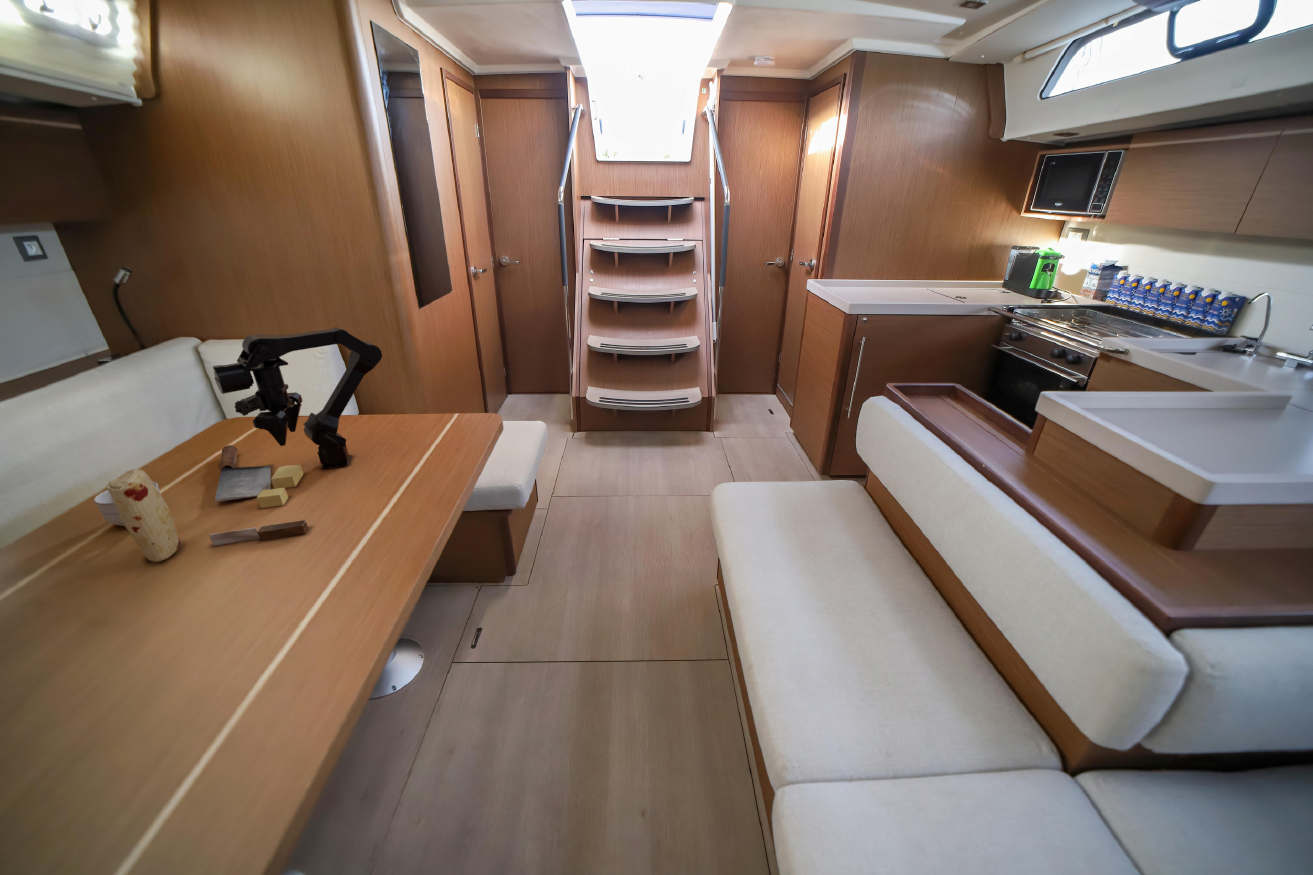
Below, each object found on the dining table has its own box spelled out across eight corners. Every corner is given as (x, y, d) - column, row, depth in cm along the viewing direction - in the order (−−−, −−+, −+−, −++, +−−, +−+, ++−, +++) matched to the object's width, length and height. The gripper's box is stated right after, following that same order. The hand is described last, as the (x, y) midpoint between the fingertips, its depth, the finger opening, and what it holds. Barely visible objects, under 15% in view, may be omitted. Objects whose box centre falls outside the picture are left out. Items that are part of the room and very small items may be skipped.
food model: (179, 560, 108) (138, 481, 100) (139, 570, 106) (92, 490, 97) (190, 536, 116) (152, 461, 107) (153, 545, 113) (110, 468, 104)
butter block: (303, 473, 142) (300, 464, 140) (295, 486, 136) (292, 476, 134) (283, 476, 141) (279, 466, 139) (274, 489, 135) (270, 479, 133)
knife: (308, 528, 119) (304, 517, 118) (305, 533, 117) (301, 523, 116) (216, 542, 114) (211, 531, 113) (211, 548, 112) (206, 537, 111)
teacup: (108, 518, 122) (92, 491, 118) (167, 501, 129) (153, 474, 126) (112, 543, 113) (95, 514, 110) (175, 523, 121) (161, 495, 117)
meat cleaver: (271, 494, 132) (266, 481, 131) (217, 508, 126) (210, 494, 125) (270, 447, 157) (265, 436, 155) (224, 457, 151) (219, 445, 149)
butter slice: (288, 497, 131) (284, 487, 130) (283, 505, 128) (279, 494, 126) (266, 500, 130) (262, 490, 128) (260, 508, 127) (256, 497, 125)
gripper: (247, 375, 135) (264, 428, 142) (218, 399, 119) (239, 457, 126) (295, 372, 139) (310, 424, 145) (273, 395, 123) (291, 451, 129)
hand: (288, 438), depth 136 cm, fingers open, 9 cm apart
